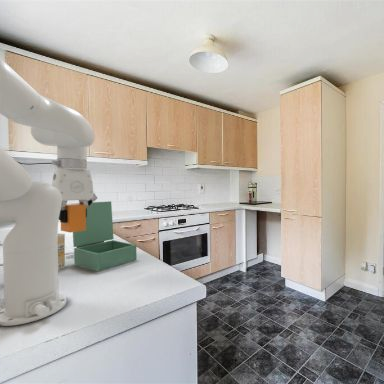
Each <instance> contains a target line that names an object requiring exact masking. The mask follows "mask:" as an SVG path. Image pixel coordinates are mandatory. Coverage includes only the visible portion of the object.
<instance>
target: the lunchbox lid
mask: <svg viewBox="0 0 384 384" xmlns="http://www.w3.org/2000/svg"><path fill="white" fill-rule="evenodd" d="M74 204H79V202H77V203H74ZM112 240H115V238H114V222H113V208H112V200H111V201H97V202H96V201H94V202H92V204H90V205H89V207H88V208H87V217H86V230H84V231H77V232H72V244H73V248H76V247H77V246H82V245H87V244H92V243H97V242H102V241H104V242H107V241H112Z"/></svg>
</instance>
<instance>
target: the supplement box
mask: <svg viewBox="0 0 384 384" xmlns="http://www.w3.org/2000/svg"><path fill="white" fill-rule="evenodd" d="M65 238H66V235H65V233H58V270H61V269H64V268H65V267H66V239H65Z"/></svg>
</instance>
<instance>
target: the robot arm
mask: <svg viewBox="0 0 384 384" xmlns="http://www.w3.org/2000/svg"><path fill="white" fill-rule="evenodd" d="M0 115H2V116H3V117H5V118H6V119H8V120H9V121H10V122H11V121H12V122H13V123H16V124H18V125H22V126H26V127H29V128H30V134H31V136H32V138H33V139H34V141H36V142H37V143H39V144H41V145H44V146H47V147H56V159H54V160H53V159H52V160H51V166H53V165H54V166H56V168H55V169H54V171H53V175H52V181H51V184H50V183H47V182H41V181H32V178H31V176H30V174H29V172H28V171H27V170H26V169H25V168H24V167H23V166H22V165H21V164H20V163H19V162H18V160H16V159H15V158H14V157H13V156H11V155H10V154H9V153H8V152H7V151H6V150H5V149H4V148H3V147H1V146H0V223H15V225H14V226H13V227H12V229H11V230H10V231H9V232H8V233H7V234H6V236H5V237H4V240H3V242H2V261H3V263H2V266H3V269H2V270H3V294H4V295H3V300H4V302H3V303H4V308H2V309H1V310H0V326H4V327H10V326H18V325H24V324H28V323H32V322H36V321H40V320H41V319H44V318H46V317H47V318H48V317H49V316H51V315H53V314H56V313H57V312H59V311H61V310H62V309H63V308H64V307H65V306H66V304H67V303H68V302H67V299H68V298H67V296H66V295H64V294H60V293H59V292H60V291H59V290H60V289H59V288H60V287H59V283H60V282H59V269H58V234H59V232H58V231H59V222H60V223H61V222H63V223H67V210H66V204H68V201H78V203H79V204H84V205H86V217H87V208H88V207H89V205H90V204H92V202H96V200H98V196H97V195H96V194H95V192H94V183H93V179H92V174H91V170H89V169H88V156H87V155H88V153H87V152H88V151H87V150H88V149H87V148H88V147H90V146H92V145H93V143H94V142H95V137H96V136H95V131H94V129H93V127H92V125H91V124H90V122H89V121H88V120H87V118H85V117H84V116H83V115H82V114H81V113H80V112H79V111H77V110H75V109H73V108H71V107H69V106H67V105H64V104H63V103H59V102H57V101H55V100H53V99H51V98H48V97H45V96H44V95H41V94H40V93H39V92H38V91H37V90H36V89H35V88H34V87H32V86H31V85H30V84H29V83H28V82H27V81H26V80H25V79H23V77H22V76H21V75H19V73H17V72H16V71H15V70H14V69H13V68H12V67H11V66H10V65H9V64H7V62H5V60H3V59H2V58H0Z"/></svg>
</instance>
